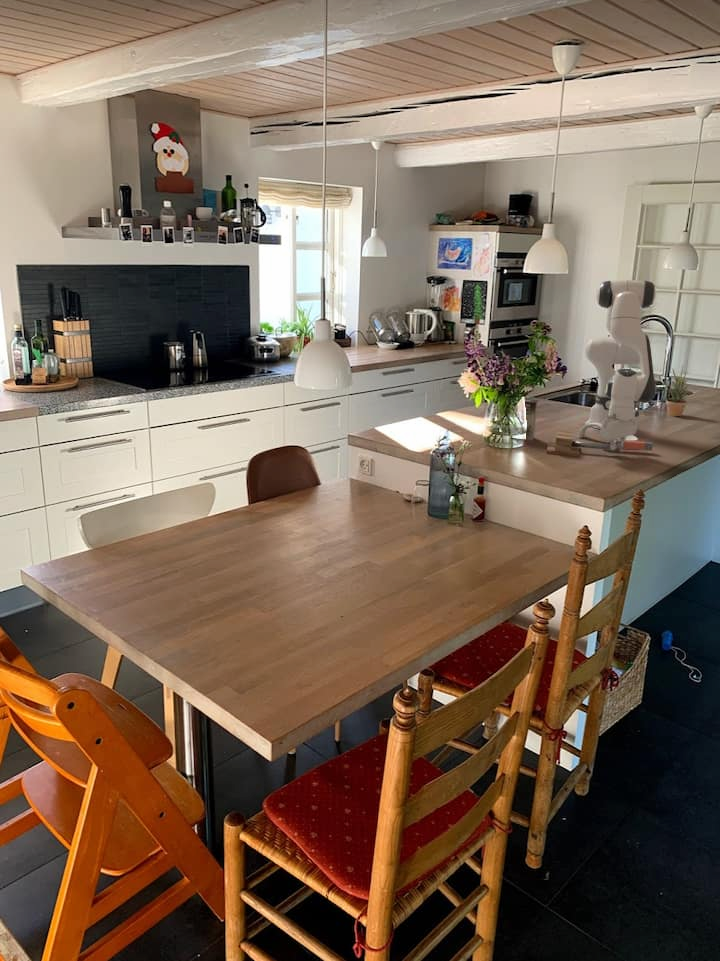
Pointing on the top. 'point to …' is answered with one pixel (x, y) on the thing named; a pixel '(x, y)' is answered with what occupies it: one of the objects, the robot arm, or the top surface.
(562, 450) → the eye block
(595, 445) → the hook rod
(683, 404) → the potted plant
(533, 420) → the coffee box
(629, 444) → the latch lever
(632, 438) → the spoon rest
